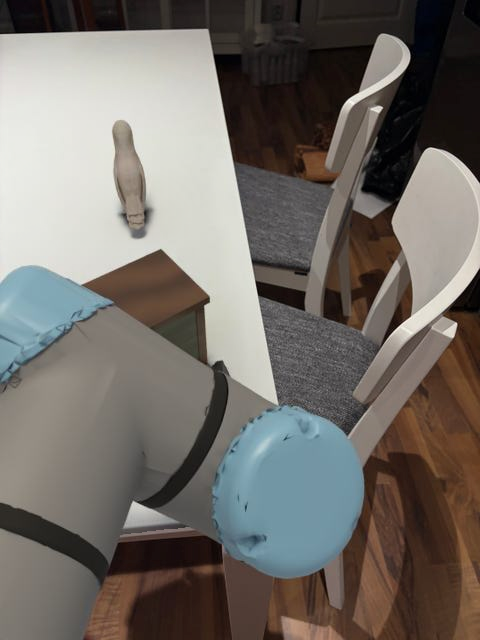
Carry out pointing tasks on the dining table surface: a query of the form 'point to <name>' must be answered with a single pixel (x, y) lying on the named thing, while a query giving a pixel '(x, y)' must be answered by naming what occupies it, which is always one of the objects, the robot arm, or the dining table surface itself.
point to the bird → (129, 175)
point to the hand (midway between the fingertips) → (120, 415)
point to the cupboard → (159, 300)
